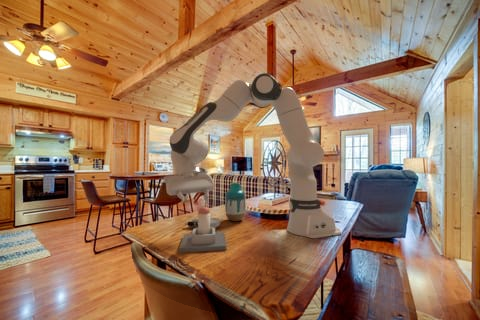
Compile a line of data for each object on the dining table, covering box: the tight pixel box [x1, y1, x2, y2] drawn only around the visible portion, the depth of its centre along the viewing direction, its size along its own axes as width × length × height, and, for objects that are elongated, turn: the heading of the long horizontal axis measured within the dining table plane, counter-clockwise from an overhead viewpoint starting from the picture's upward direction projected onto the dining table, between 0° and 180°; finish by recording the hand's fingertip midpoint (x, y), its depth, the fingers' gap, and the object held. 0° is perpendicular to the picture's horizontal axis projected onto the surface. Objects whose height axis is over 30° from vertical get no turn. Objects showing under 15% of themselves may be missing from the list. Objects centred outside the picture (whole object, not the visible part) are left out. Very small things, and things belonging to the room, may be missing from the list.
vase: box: [224, 182, 247, 222], centre depth 108 cm, size 11×11×19 cm
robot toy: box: [184, 217, 225, 229], centre depth 97 cm, size 12×4×15 cm
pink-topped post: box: [197, 206, 211, 235], centre depth 79 cm, size 4×4×12 cm
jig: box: [178, 227, 227, 254], centre depth 79 cm, size 16×14×4 cm
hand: (196, 200), depth 84 cm, fingers open, 8 cm apart
